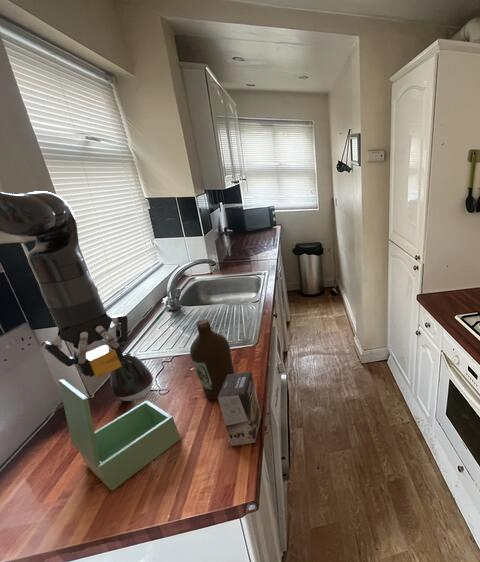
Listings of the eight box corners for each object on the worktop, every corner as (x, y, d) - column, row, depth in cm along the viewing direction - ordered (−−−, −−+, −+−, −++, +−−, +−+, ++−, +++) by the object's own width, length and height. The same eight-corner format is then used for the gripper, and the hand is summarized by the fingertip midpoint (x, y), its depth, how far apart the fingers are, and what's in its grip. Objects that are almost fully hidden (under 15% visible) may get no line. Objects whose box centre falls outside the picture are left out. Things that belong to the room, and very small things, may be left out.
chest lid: (63, 378, 68) (58, 380, 67) (88, 397, 62) (82, 399, 62) (76, 441, 72) (71, 443, 71) (100, 464, 66) (95, 467, 65)
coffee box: (256, 442, 80) (244, 394, 73) (230, 446, 79) (216, 398, 73) (262, 415, 88) (252, 370, 82) (238, 419, 87) (226, 373, 81)
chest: (155, 421, 87) (146, 400, 84) (180, 438, 81) (172, 416, 78) (87, 466, 75) (74, 443, 72) (111, 491, 69) (99, 467, 66)
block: (88, 372, 66) (80, 355, 64) (111, 361, 70) (104, 344, 68) (97, 378, 64) (89, 361, 63) (121, 366, 68) (114, 349, 66)
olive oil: (226, 374, 105) (209, 309, 96) (245, 385, 100) (229, 318, 90) (196, 393, 97) (174, 324, 88) (215, 406, 92) (193, 335, 82)
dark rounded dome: (125, 411, 91) (107, 370, 85) (112, 398, 96) (93, 358, 91) (162, 390, 99) (148, 351, 93) (148, 379, 104) (133, 341, 98)
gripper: (106, 282, 68) (132, 347, 74) (15, 309, 56) (54, 383, 63) (124, 287, 64) (149, 355, 71) (30, 317, 53) (70, 395, 59)
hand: (104, 368), depth 67 cm, fingers closed on block, 4 cm apart
